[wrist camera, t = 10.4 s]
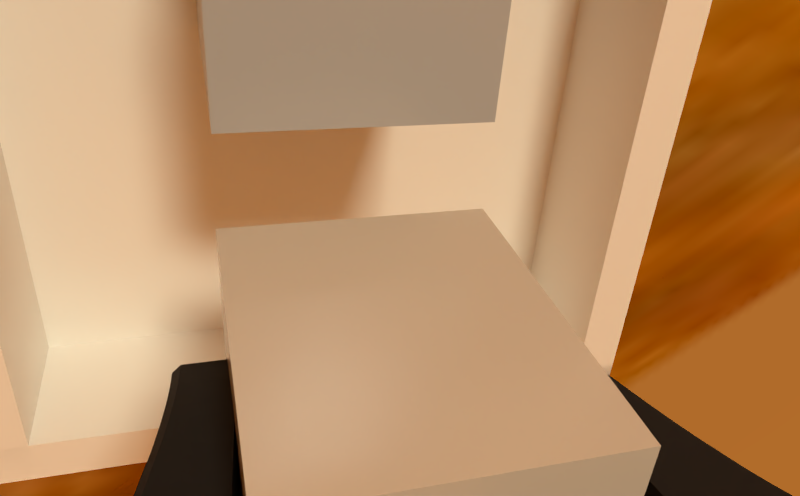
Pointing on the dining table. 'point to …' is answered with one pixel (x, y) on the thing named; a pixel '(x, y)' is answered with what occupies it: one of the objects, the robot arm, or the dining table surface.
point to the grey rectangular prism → (350, 62)
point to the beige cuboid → (413, 367)
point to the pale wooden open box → (287, 195)
